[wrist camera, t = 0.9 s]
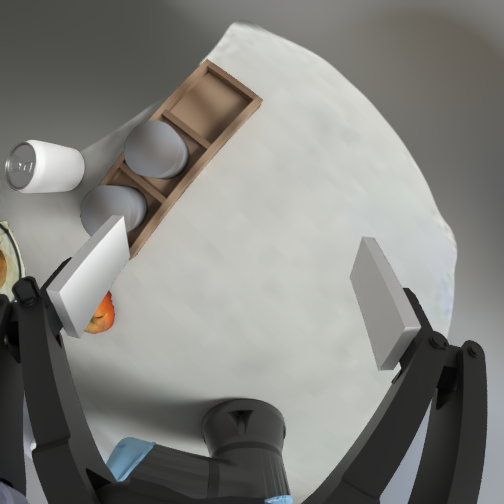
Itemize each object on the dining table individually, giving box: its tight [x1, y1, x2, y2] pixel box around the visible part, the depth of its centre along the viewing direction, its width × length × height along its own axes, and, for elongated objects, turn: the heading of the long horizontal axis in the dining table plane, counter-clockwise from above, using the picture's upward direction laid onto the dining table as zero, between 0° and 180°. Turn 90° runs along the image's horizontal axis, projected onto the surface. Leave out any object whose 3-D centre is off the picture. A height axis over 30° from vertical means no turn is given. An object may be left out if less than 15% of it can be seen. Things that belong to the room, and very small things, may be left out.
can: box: [5, 140, 85, 193], centre depth 28 cm, size 6×6×12 cm
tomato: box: [85, 291, 115, 334], centre depth 37 cm, size 8×7×7 cm
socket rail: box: [80, 59, 263, 260], centre depth 31 cm, size 27×9×9 cm, turn 139°
